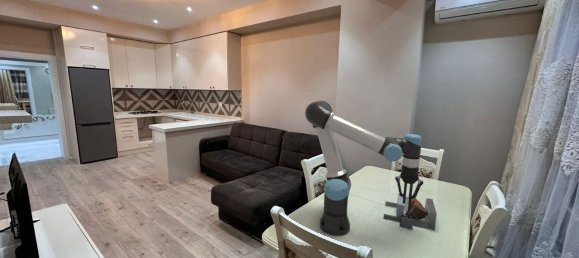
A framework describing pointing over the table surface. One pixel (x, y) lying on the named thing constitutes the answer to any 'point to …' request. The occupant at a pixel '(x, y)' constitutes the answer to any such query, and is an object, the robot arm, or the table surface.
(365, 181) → the table surface
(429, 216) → the vise frame
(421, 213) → the rock
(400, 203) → the vise jaw
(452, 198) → the table surface
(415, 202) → the lever
